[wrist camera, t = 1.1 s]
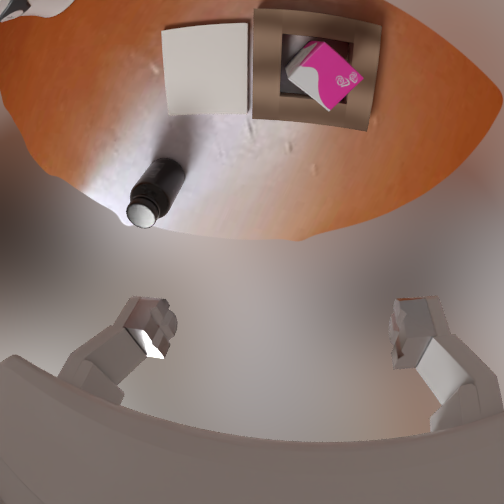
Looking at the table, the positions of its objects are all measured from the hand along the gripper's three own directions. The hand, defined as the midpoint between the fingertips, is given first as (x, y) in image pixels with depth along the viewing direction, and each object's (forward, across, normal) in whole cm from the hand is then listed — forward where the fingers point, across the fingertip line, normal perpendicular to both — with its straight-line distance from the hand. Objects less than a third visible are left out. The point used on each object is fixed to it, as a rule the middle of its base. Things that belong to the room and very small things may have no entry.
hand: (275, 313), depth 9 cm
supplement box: (+34, -3, -8) cm, 35 cm away
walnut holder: (+34, -3, -8) cm, 35 cm away
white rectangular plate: (+33, +12, -10) cm, 37 cm away
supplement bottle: (+35, +24, +6) cm, 42 cm away
